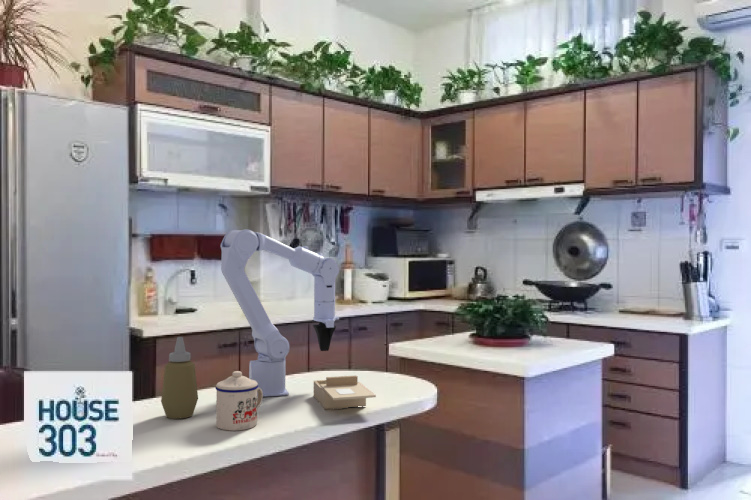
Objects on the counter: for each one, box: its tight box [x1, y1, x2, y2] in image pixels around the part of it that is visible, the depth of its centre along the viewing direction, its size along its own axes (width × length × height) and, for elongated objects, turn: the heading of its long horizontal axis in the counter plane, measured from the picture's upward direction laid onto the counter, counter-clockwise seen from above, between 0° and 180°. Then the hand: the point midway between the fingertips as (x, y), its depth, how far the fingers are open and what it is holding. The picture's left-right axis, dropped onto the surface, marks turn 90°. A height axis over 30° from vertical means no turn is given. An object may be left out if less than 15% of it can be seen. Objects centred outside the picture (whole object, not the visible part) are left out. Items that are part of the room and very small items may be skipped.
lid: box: [320, 375, 377, 400], centre depth 150 cm, size 14×10×2 cm
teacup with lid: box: [214, 370, 263, 432], centre depth 138 cm, size 12×9×12 cm
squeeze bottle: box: [160, 336, 199, 420], centre depth 144 cm, size 8×8×18 cm
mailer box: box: [313, 379, 367, 411], centre depth 158 cm, size 14×10×4 cm
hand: (324, 350), depth 174 cm, fingers closed
